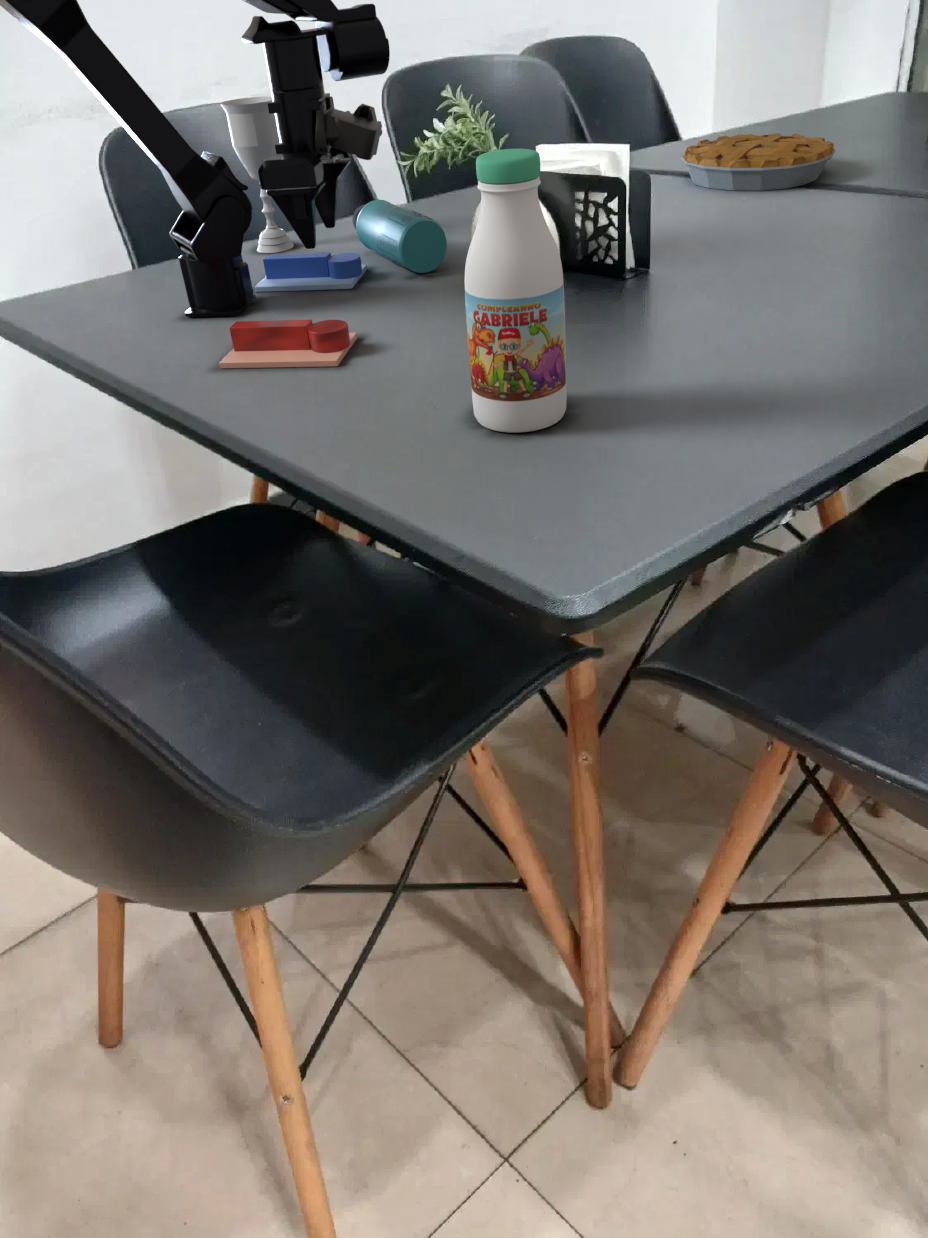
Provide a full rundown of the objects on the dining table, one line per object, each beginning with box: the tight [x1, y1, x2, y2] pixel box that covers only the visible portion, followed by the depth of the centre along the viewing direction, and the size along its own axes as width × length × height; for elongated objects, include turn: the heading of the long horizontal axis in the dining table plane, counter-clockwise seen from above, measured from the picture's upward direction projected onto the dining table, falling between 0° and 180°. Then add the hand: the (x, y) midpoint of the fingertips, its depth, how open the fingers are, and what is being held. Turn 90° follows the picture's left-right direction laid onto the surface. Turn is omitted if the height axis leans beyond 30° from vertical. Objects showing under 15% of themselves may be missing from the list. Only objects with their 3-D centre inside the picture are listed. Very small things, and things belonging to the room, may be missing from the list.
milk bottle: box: [464, 148, 568, 433], centre depth 75 cm, size 8×8×20 cm
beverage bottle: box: [352, 199, 448, 275], centre depth 121 cm, size 6×7×20 cm
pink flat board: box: [218, 331, 359, 369], centre depth 98 cm, size 12×8×1 cm, turn 81°
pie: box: [680, 132, 836, 192], centre depth 144 cm, size 22×22×5 cm
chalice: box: [219, 96, 294, 254], centre depth 128 cm, size 7×7×18 cm
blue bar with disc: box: [262, 251, 363, 279], centre depth 118 cm, size 12×4×2 cm, turn 81°
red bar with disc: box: [228, 318, 350, 353], centre depth 97 cm, size 12×4×2 cm, turn 81°
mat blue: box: [254, 264, 368, 293], centre depth 118 cm, size 12×8×1 cm, turn 81°
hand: (321, 237), depth 114 cm, fingers open, 9 cm apart
